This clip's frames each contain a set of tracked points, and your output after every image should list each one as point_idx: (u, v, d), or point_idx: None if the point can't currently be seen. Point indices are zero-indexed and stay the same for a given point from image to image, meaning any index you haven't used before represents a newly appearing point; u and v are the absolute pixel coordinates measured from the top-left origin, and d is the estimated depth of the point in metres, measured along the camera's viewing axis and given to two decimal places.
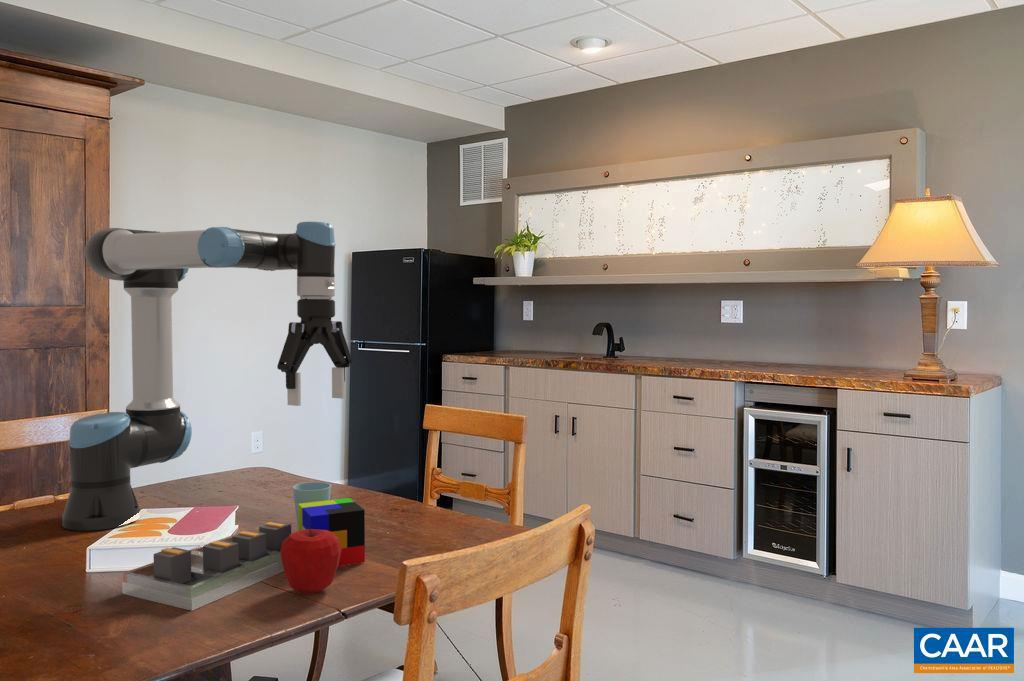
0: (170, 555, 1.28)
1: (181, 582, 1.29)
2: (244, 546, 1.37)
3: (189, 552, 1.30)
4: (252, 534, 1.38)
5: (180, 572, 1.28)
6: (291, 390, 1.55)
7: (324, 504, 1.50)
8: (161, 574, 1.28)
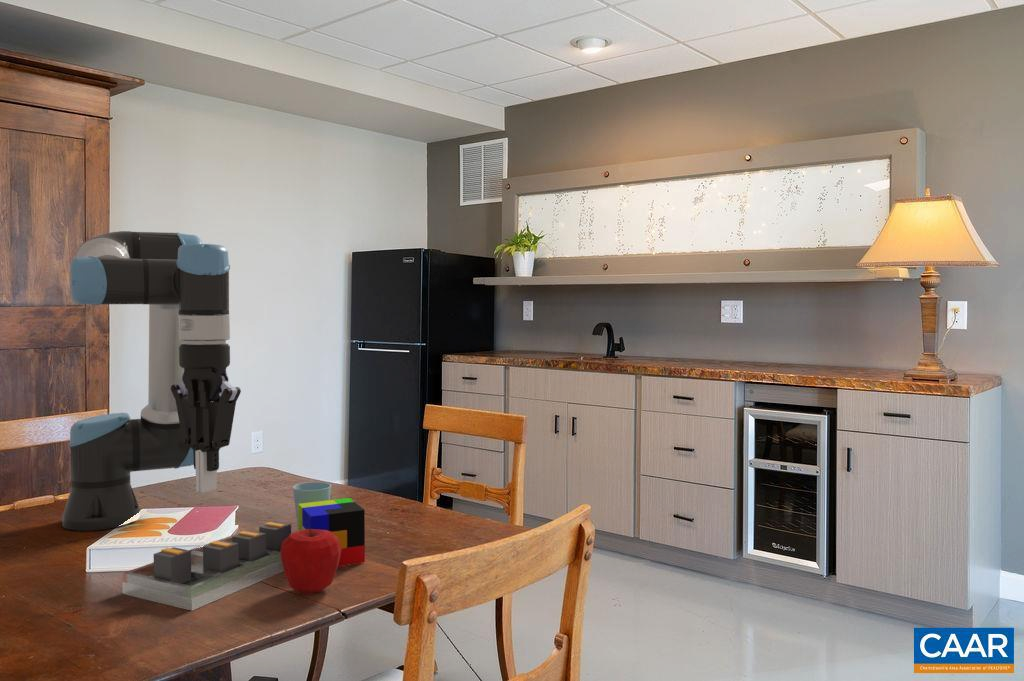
0: (170, 555, 1.28)
1: (181, 582, 1.29)
2: (244, 546, 1.37)
3: (189, 552, 1.30)
4: (252, 534, 1.38)
5: (180, 572, 1.28)
6: None
7: (324, 504, 1.50)
8: (161, 574, 1.28)
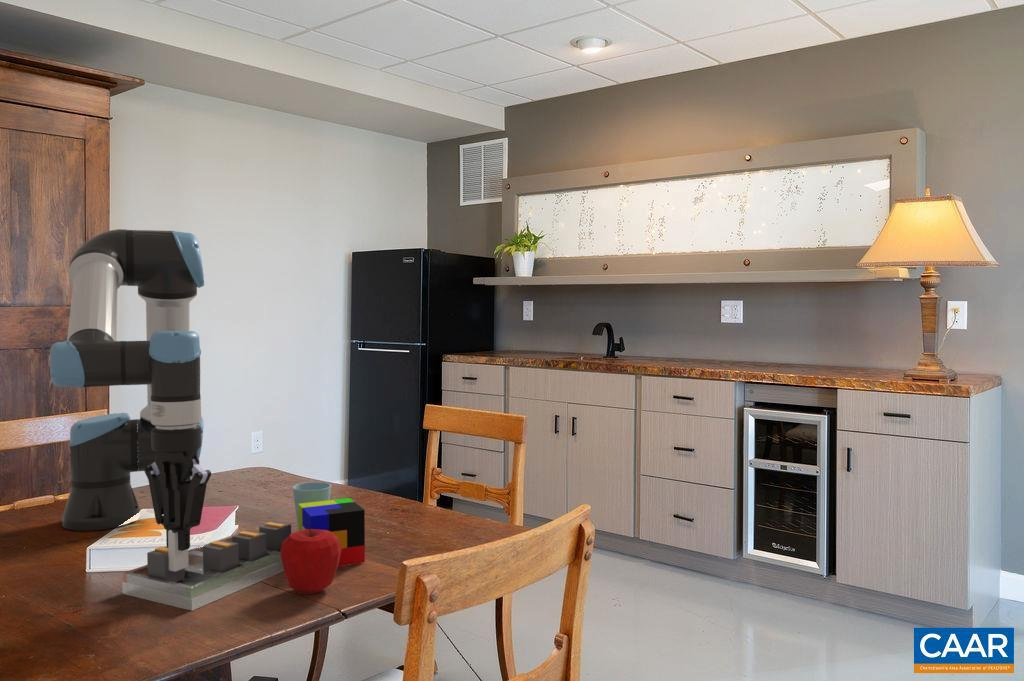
0: (163, 554, 1.28)
1: (175, 580, 1.29)
2: (244, 546, 1.37)
3: None
4: (252, 534, 1.38)
5: None
6: None
7: (324, 504, 1.50)
8: (155, 573, 1.28)
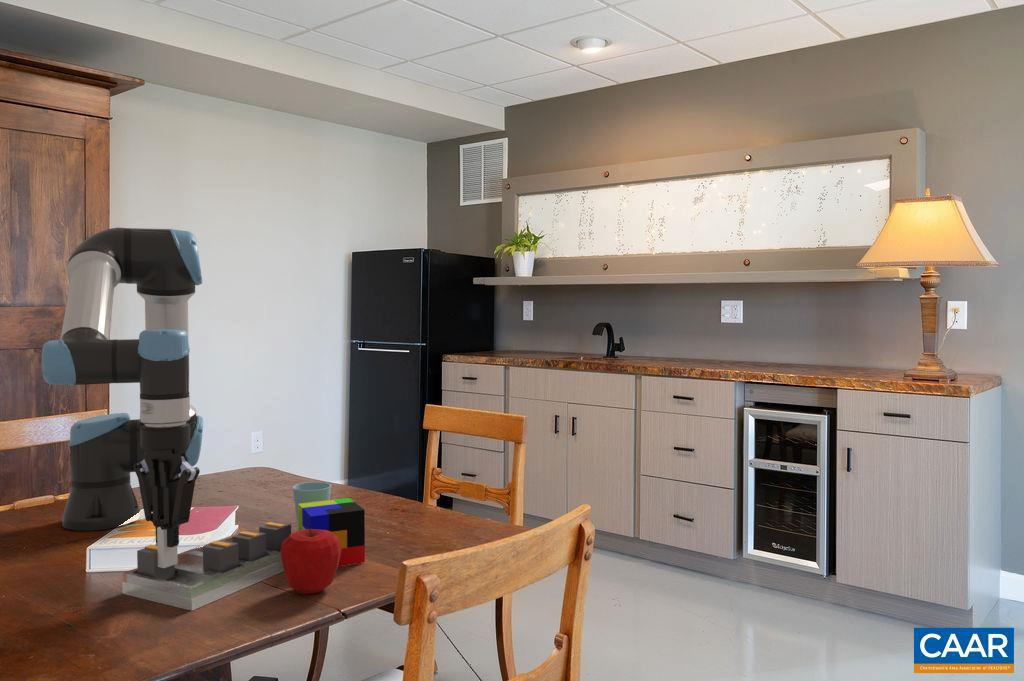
0: (153, 551, 1.29)
1: (165, 578, 1.30)
2: (244, 546, 1.37)
3: None
4: (252, 534, 1.38)
5: (163, 569, 1.30)
6: None
7: (324, 504, 1.50)
8: (144, 570, 1.29)
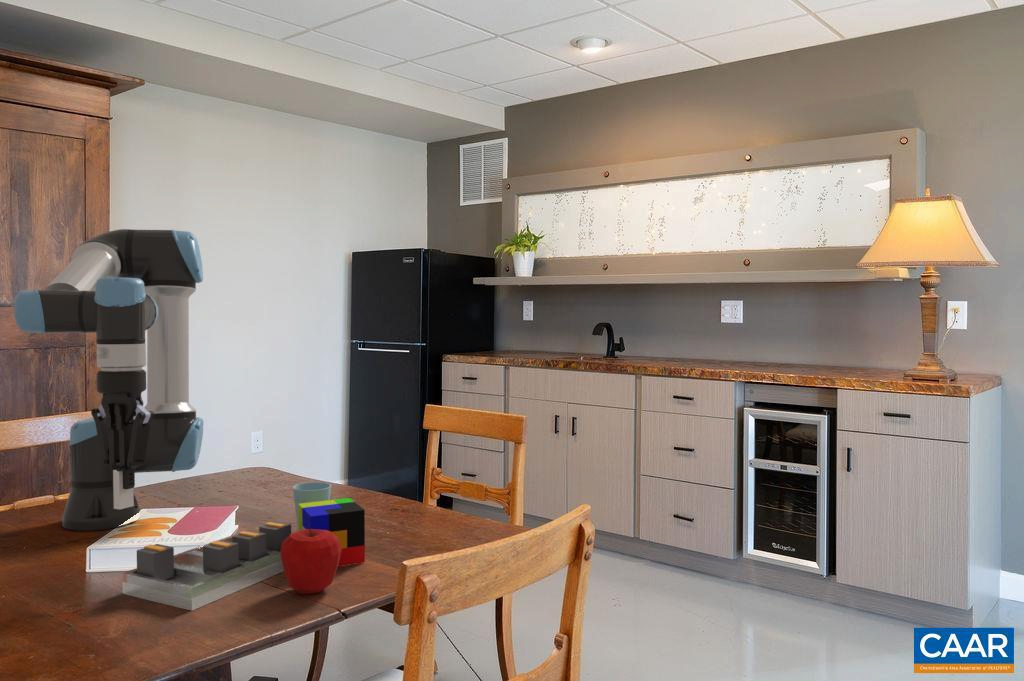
0: (152, 551, 1.30)
1: (164, 578, 1.31)
2: (244, 546, 1.37)
3: (172, 549, 1.32)
4: (252, 534, 1.38)
5: (163, 568, 1.30)
6: None
7: (324, 504, 1.50)
8: (144, 570, 1.30)
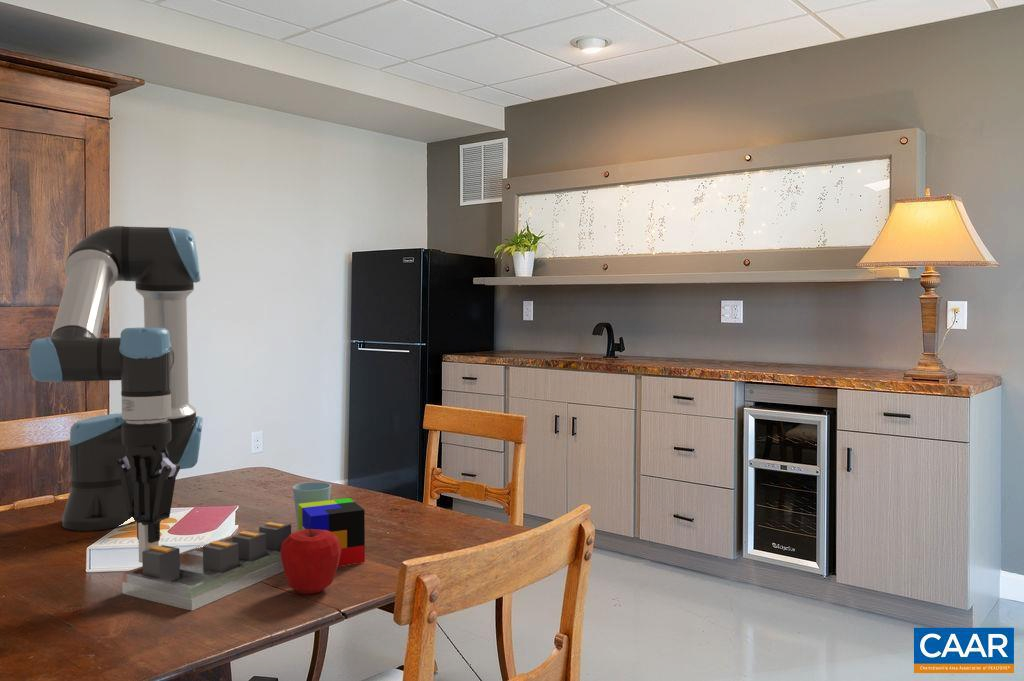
0: (158, 552, 1.29)
1: (170, 579, 1.30)
2: (244, 546, 1.37)
3: (178, 550, 1.31)
4: (252, 534, 1.38)
5: (169, 570, 1.30)
6: None
7: (324, 504, 1.50)
8: (150, 571, 1.29)
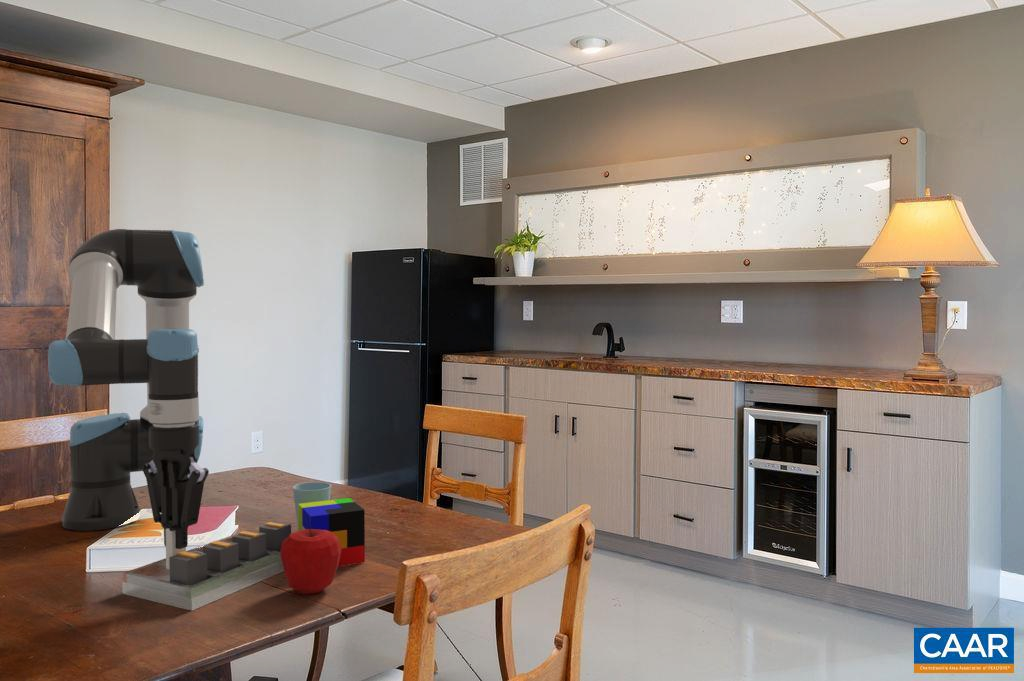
0: (186, 558, 1.26)
1: None
2: (244, 546, 1.37)
3: (205, 555, 1.28)
4: (252, 534, 1.38)
5: (196, 576, 1.27)
6: None
7: (324, 504, 1.50)
8: (177, 578, 1.26)
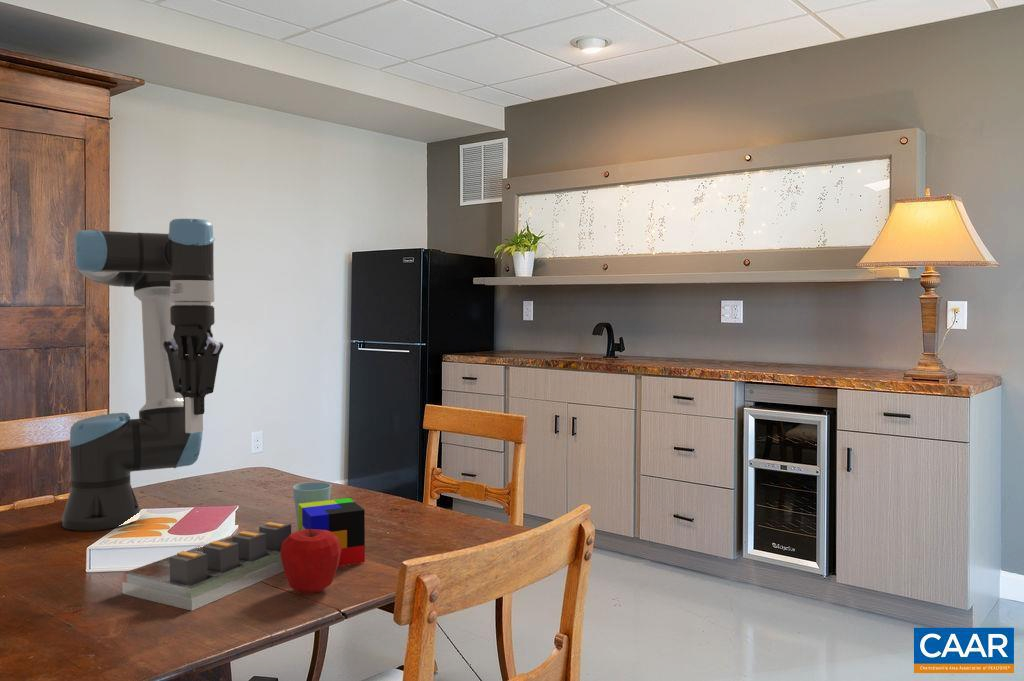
0: (186, 558, 1.26)
1: None
2: (244, 546, 1.37)
3: (205, 555, 1.28)
4: (252, 534, 1.38)
5: (196, 576, 1.27)
6: None
7: (324, 504, 1.50)
8: (177, 578, 1.26)
